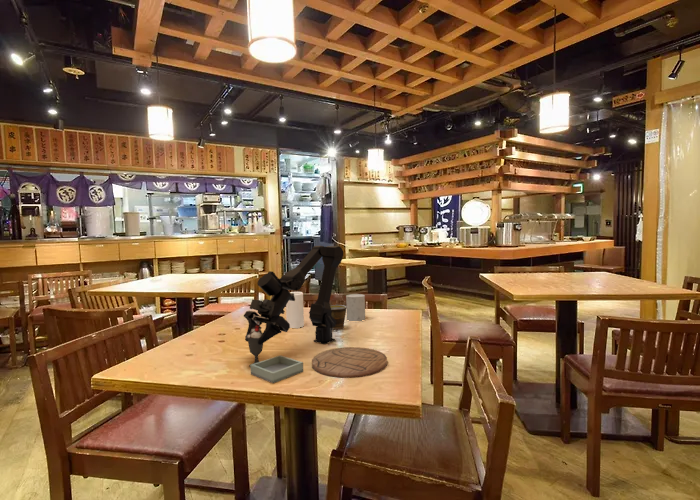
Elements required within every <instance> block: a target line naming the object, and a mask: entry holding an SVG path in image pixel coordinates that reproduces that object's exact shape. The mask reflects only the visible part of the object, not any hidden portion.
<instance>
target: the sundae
mask: <svg viewBox="0 0 700 500" xmlns="http://www.w3.org/2000/svg"><path fill="white" fill-rule="evenodd" d="M258 323H259V322H258ZM262 334H263V332H262V328H261V329H260V328H259V326H257V325H256V327H254V328H252V329H251V332H250V334H248V335H246V334H245V338H246V339H248V349H249V352H250V353H251V355H253V356H254V361H253V362H252V363H250V364H249V366H248V367H249V368H250V365H251V364H255V363H258V362H260V360H259V356H260V354H261V353H262V351H263V348H264V343H263V344H261V345H259V344H258V342H259V339H260V338H261V336H262Z"/></svg>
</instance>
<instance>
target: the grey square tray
mask: <svg viewBox="0 0 700 500" xmlns="http://www.w3.org/2000/svg"><path fill="white" fill-rule="evenodd" d="M250 364H251V365H250ZM250 364H249V365H250V367H249V368H250V375H252V376H254V377H256V378H258V379H260V380H261V379H262V380H263V381H265V382H269V383H270V384H276V383H278V382H281V381H284V380H286V379H289V378H291V377H293V376H296V375H299V374H301V373H303V372H304V361H301V360H297V359H294V358H291V357H287V356H284V355H280V354H279V355H277V356H276V355H275V356H273V357H270V358H268V359H264V360H261V361H259V362H258V363H255V364H252V363H250Z"/></svg>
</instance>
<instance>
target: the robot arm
mask: <svg viewBox="0 0 700 500" xmlns="http://www.w3.org/2000/svg"><path fill="white" fill-rule="evenodd" d="M343 257H344V251H343V249H342V247H341V246H338V245H336V246H335V245H334V246H333V245H331V246H330V245H329V246H328V245H327V246H324V245H314V246H313V247H312V248H311V250H310V251H309V252H308V254H306V255H305V257H304V258H303V259H302V260H301V261H300V262H299V263H298V264H297V265H296V266H295V267H294V268H293V269H291V270H288V271H287V272H286V273H284V274H283V275H282V276H281V277H280V278H279V277H278V276H277V275H276V273H275V272H274V271H270V270H269V271H268V272H267V273H265V274H264V275H262V276H261V277H259V279H258V281H257V286H258V287H259V288H260V289H261V290H262V291H263V292H264V293H265V294H266V295H267V296H269V297H271V298H270V299H266V298H265V299H263V300H259V299H254V298H253V299H252V300H251V303H250V305H249V309H250V310H247V311H246V312H245V313H244V314H243V318H244V319H246V321H247V322H248V326H247V331H246V334H245V336H246V335H248V334H250V332H251V329H252V328H254V327H256V325H257V326H259V328H260V329H261V330H262V327H261V325H263V324H265V328H264V331H263V332H262V333H263V334H262V336H261V338H260V339H259V342H258V344H259V345H261V344H263V345H264V343H265V342H267V341H268V340H270V339H272V338H274V337H275V336H277V335H279V334H281V333H282V332H283V333H288V332H289V330H290V324H289V323H288V322H287V321H286V319H285V318H284V317H283V316H281V315H283V314H285V313H286V310H284V309H286V304H287V303H288V301H289V300H290V301H295V297H294V293H290V291H293V292H298V291H300V290H301V288H302V286H303V285H304V284H305V281H306V277H307V275H308V274H309V273H310V271H311V270H312V269H313V268H314V267H315V266H316V265H317V263H318V262H319V261H320V260H322V263H323V271H322V276H321V279H320V280H321V281H320V285H319V290H318V295H317V299H316V301H315V302H314V303H311V304H310V306H309V307H310V309H309V312H308V314H309V319H310V322H311V325H312V326H313V327H315V330H314V331H315V339H313V342H314V343H319V344H323V345H326V344H329V343H332V342H335V341H336V339H335V338H333V330H332V328H333V327H335V326H336V320H335V319H334V318H333V317H332V316H331V311H332V310H331V306H330V305H331V303H330V302H331V296H332V292H333V291H332V290H333V284H334V281H335V275H336V270H337V268H338V266H340V265H341V263H342V260H343ZM256 311H257V312H256ZM258 322H259V323H258ZM244 340H245V341H246V342H248V339H246V338H245V339H244Z"/></svg>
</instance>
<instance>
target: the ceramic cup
mask: <svg viewBox="0 0 700 500" xmlns="http://www.w3.org/2000/svg"><path fill="white" fill-rule="evenodd" d="M330 306H331V310H332V311H331V316H332V317H333V318H334V319H335V320H336V326H335V327H333V328H332V331H341V330H343V329H344V327H345V321H346V316H347V307H346V305H343V304H332V305H331V304H330Z"/></svg>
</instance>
